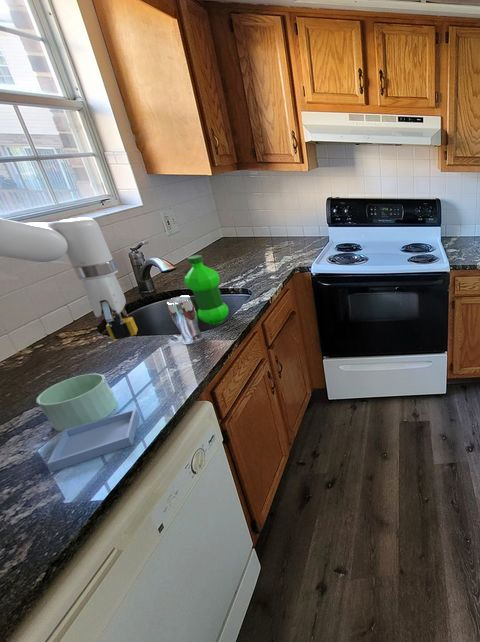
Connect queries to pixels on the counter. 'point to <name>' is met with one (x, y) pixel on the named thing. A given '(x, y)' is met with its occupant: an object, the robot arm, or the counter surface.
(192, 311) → the beer glass
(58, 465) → the tray
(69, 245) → the robot arm
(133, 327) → the sponge
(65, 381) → the bowl
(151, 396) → the counter surface
